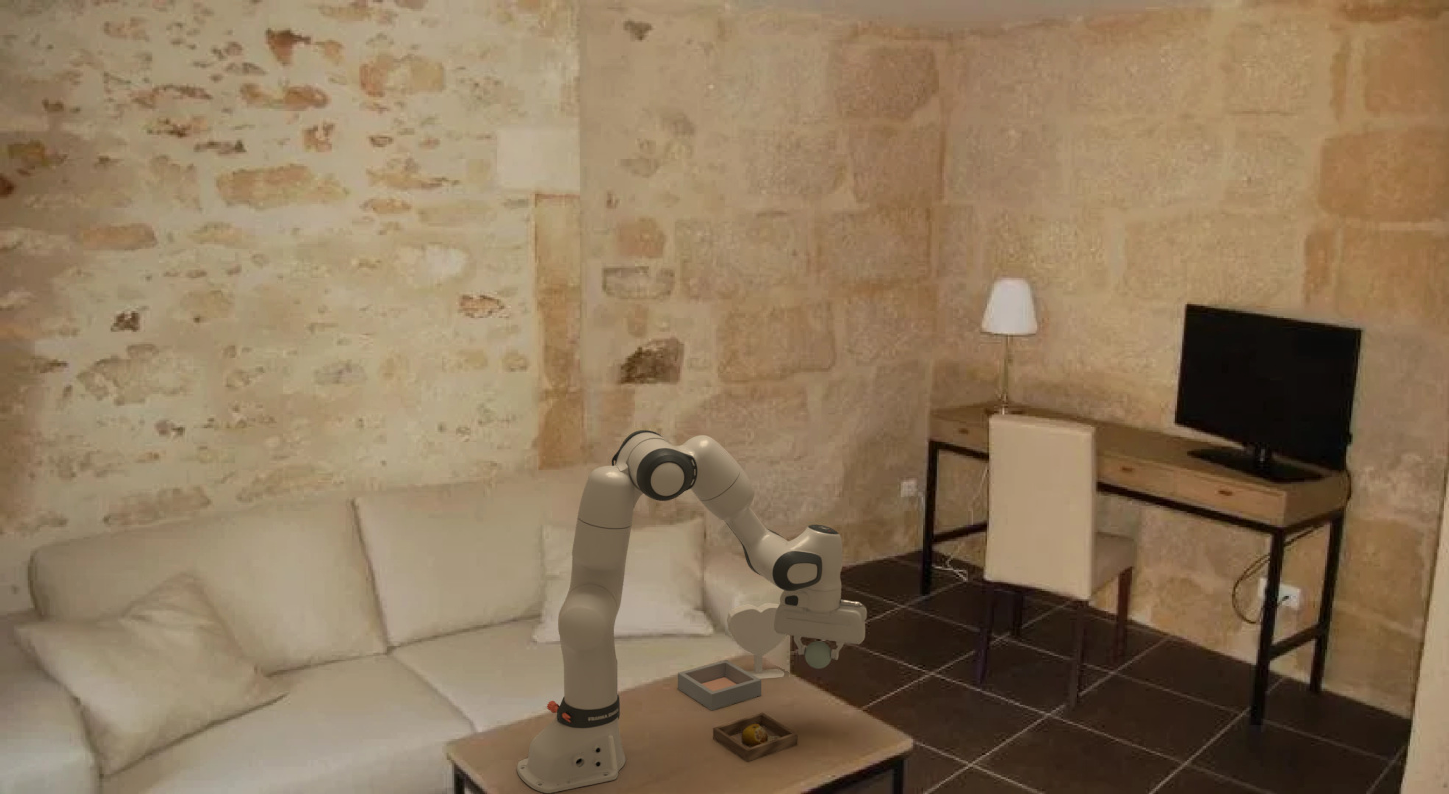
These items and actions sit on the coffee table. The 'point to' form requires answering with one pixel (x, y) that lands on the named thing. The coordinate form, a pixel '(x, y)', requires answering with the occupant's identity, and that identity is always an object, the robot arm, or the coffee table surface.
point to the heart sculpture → (756, 634)
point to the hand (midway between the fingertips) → (818, 656)
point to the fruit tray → (748, 754)
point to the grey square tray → (719, 684)
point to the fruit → (755, 735)
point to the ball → (818, 654)
